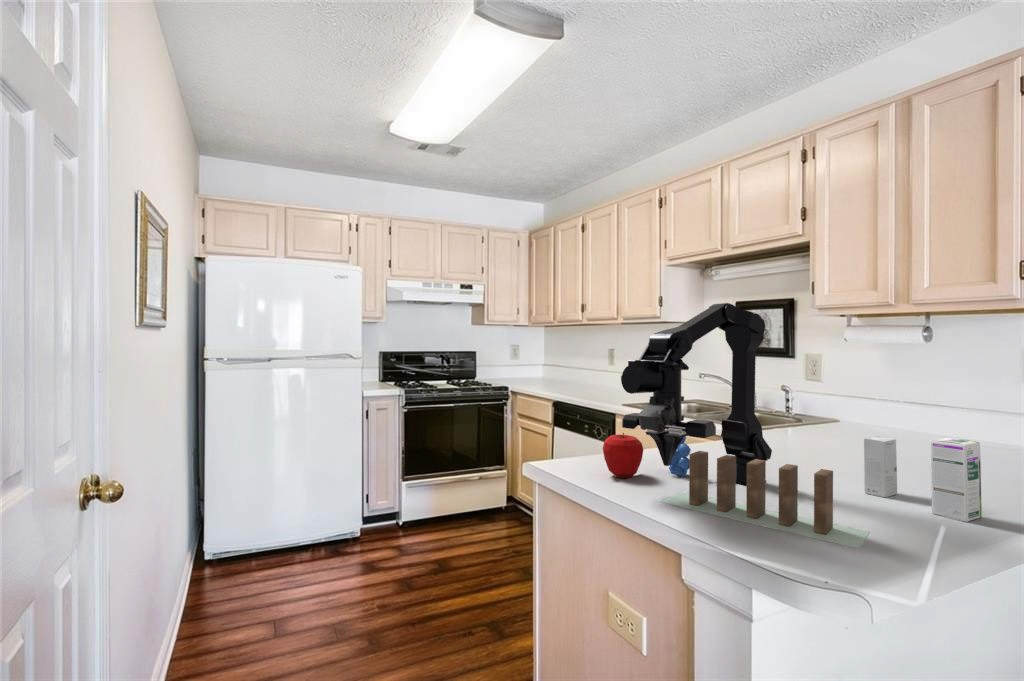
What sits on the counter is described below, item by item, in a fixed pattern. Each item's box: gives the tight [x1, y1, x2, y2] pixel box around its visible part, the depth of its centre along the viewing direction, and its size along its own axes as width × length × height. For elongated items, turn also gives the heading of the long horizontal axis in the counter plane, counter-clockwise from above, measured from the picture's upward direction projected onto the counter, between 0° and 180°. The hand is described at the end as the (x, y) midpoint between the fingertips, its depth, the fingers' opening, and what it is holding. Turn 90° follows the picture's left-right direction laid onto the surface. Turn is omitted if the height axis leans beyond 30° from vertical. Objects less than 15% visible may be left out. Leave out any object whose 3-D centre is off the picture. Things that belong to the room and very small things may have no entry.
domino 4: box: [778, 463, 799, 527], centre depth 93 cm, size 2×5×10 cm, turn 137°
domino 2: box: [716, 454, 737, 513], centre depth 100 cm, size 2×5×10 cm, turn 137°
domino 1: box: [688, 450, 709, 506], centre depth 104 cm, size 2×5×10 cm, turn 137°
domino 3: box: [746, 459, 767, 520], centre depth 97 cm, size 2×5×10 cm, turn 137°
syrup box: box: [930, 437, 983, 523], centre depth 99 cm, size 6×6×14 cm
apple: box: [602, 432, 644, 479], centre depth 126 cm, size 10×10×11 cm
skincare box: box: [863, 436, 898, 498], centre depth 114 cm, size 6×4×12 cm
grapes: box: [668, 436, 692, 477], centre depth 128 cm, size 12×7×12 cm, turn 11°
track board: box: [659, 491, 871, 549], centre depth 97 cm, size 10×34×1 cm, turn 47°
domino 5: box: [813, 468, 834, 535], centre depth 89 cm, size 2×5×10 cm, turn 136°
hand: (666, 465), depth 109 cm, fingers closed
